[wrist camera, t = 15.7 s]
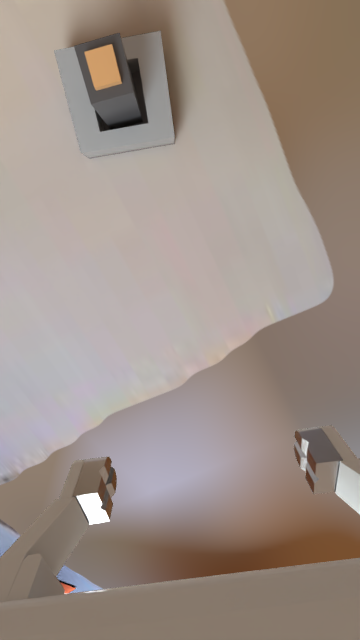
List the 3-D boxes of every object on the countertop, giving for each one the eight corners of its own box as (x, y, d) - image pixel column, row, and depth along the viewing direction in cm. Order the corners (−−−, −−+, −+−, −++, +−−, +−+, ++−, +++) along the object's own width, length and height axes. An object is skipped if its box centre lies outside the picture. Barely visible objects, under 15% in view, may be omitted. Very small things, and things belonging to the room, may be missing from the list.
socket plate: (89, 158, 33) (81, 153, 30) (66, 67, 30) (54, 50, 26) (174, 143, 33) (174, 136, 30) (161, 49, 29) (160, 30, 26)
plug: (111, 130, 32) (89, 101, 23) (100, 89, 30) (71, 42, 21) (143, 121, 31) (132, 89, 23) (133, 80, 30) (118, 28, 21)
